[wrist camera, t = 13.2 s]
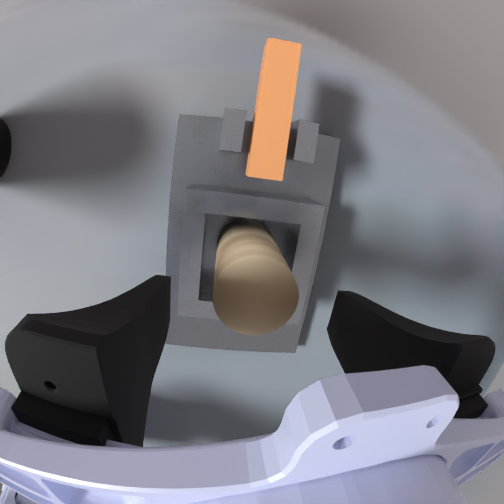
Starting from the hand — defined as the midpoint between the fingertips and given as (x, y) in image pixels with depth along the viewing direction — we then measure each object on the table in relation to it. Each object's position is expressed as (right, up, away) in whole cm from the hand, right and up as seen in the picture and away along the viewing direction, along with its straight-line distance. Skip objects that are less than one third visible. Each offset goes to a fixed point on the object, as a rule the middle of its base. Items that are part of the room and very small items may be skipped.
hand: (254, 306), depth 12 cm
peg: (-1, +3, +7) cm, 7 cm away
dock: (-1, +3, +8) cm, 8 cm away
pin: (+1, +9, +1) cm, 10 cm away
